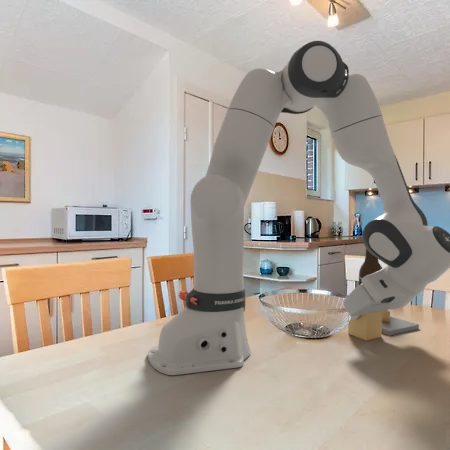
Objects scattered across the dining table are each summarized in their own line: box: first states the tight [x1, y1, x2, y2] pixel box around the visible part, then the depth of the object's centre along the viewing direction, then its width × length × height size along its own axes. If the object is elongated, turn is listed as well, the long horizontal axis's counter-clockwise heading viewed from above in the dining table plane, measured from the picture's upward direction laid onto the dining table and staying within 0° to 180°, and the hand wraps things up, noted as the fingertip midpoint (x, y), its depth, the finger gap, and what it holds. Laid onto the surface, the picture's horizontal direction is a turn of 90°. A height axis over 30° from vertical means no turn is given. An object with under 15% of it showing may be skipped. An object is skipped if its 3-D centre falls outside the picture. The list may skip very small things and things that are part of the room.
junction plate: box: [382, 310, 420, 336], centre depth 98 cm, size 12×12×4 cm
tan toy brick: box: [347, 311, 383, 341], centre depth 90 cm, size 6×6×9 cm
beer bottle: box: [358, 248, 383, 286], centre depth 114 cm, size 8×8×24 cm
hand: (362, 315), depth 90 cm, fingers closed on tan toy brick, 6 cm apart
